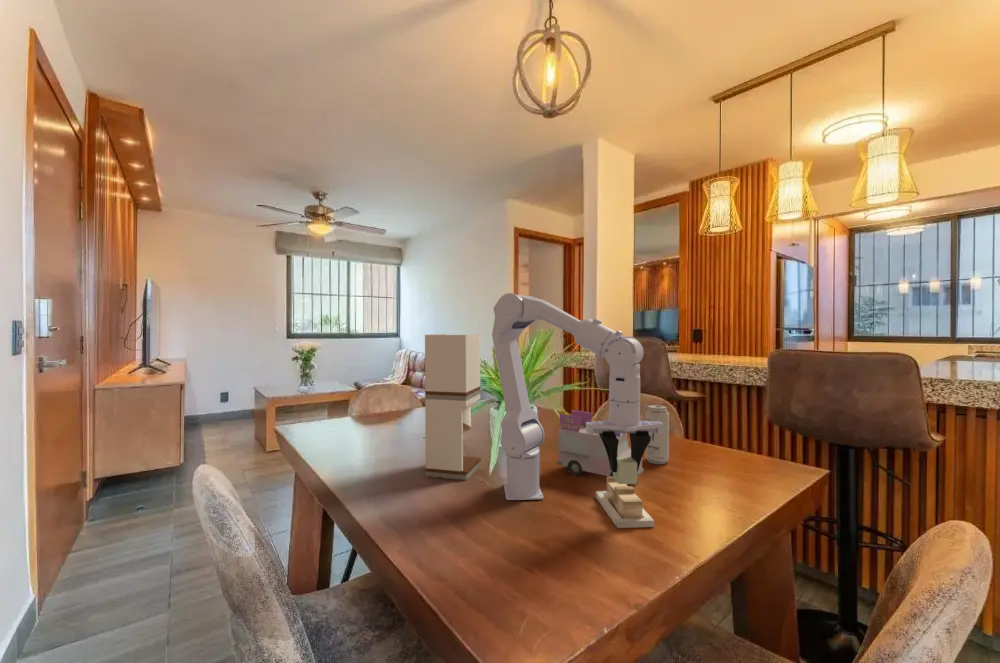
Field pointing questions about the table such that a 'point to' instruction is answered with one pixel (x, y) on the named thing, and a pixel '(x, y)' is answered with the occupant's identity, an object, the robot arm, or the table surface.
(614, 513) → the jig
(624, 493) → the tan stepped block
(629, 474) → the block
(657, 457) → the energy drink can
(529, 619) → the table surface
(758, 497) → the table surface
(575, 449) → the toy vehicle
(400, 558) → the table surface
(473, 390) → the beige tall block
